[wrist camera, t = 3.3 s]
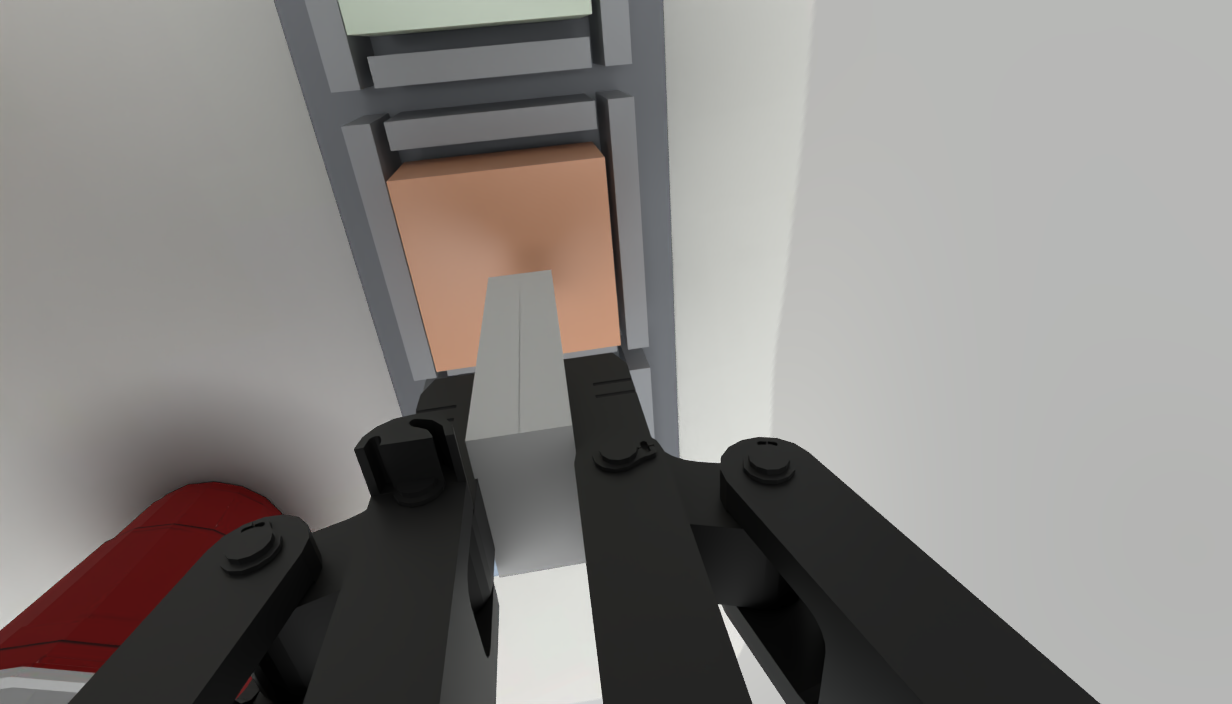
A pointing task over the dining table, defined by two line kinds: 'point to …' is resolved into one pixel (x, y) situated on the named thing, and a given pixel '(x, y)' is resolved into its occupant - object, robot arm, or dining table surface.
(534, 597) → the dining table surface
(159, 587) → the plastic cup
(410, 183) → the button terracotta
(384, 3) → the button sage
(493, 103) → the console
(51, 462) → the dining table surface
